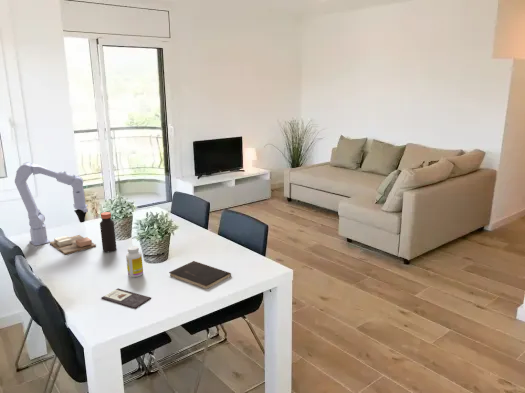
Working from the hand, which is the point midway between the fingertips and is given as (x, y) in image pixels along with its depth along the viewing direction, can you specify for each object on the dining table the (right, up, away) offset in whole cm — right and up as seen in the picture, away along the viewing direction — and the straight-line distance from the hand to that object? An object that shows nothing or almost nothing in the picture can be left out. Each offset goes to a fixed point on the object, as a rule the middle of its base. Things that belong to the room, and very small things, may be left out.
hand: (82, 222), depth 240 cm
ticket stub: (+6, -11, -11) cm, 17 cm away
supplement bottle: (+43, -21, -45) cm, 66 cm away
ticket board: (-2, -12, -9) cm, 15 cm away
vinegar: (+21, -14, -16) cm, 30 cm away
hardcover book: (+73, -22, -47) cm, 89 cm away
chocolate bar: (+46, -28, -67) cm, 85 cm away
